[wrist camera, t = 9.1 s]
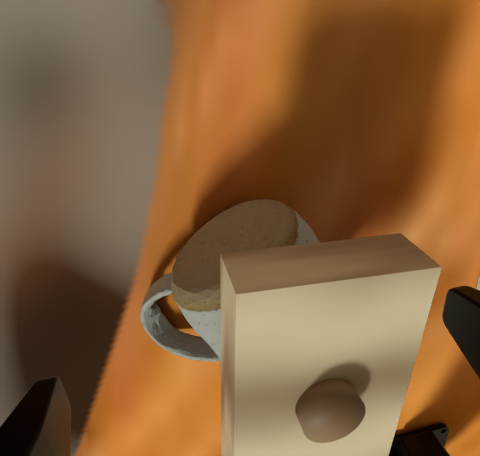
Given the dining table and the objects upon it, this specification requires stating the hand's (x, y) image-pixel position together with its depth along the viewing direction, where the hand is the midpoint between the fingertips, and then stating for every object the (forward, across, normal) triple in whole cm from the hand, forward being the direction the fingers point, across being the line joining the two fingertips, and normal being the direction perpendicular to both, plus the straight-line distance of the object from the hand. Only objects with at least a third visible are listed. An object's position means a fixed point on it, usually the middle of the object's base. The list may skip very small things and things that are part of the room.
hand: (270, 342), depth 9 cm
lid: (+5, -3, +7) cm, 9 cm away
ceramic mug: (+13, -2, +7) cm, 15 cm away
